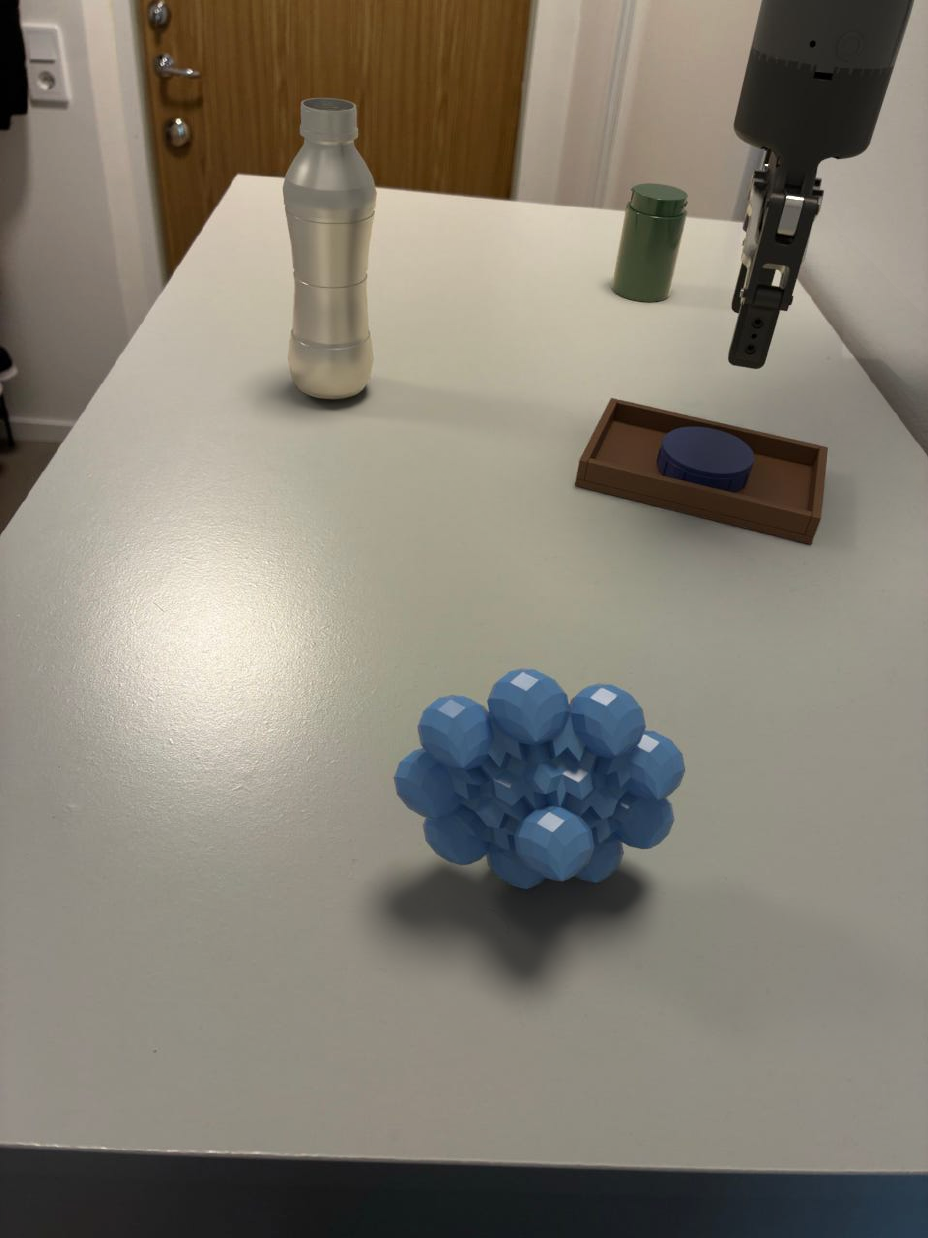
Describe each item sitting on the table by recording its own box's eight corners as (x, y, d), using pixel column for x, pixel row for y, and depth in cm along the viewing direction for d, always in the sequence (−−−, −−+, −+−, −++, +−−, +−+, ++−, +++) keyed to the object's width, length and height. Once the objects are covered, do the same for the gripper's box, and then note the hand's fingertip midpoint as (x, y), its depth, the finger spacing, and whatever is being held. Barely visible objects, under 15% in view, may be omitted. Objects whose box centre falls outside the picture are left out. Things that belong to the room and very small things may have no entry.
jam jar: (673, 286, 97) (695, 188, 91) (663, 306, 93) (686, 205, 87) (618, 275, 98) (636, 178, 92) (606, 294, 94) (623, 193, 88)
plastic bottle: (274, 399, 72) (258, 106, 59) (311, 364, 77) (304, 87, 64) (353, 417, 71) (355, 122, 58) (385, 380, 76) (393, 102, 63)
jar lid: (646, 479, 66) (651, 456, 65) (669, 439, 71) (675, 418, 70) (737, 505, 65) (744, 482, 63) (755, 463, 69) (762, 441, 68)
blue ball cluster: (392, 975, 37) (404, 773, 29) (387, 833, 42) (396, 629, 35) (679, 962, 39) (762, 766, 31) (640, 826, 44) (703, 629, 36)
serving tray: (818, 471, 70) (828, 446, 69) (811, 544, 63) (821, 518, 61) (606, 422, 74) (610, 397, 72) (574, 485, 66) (579, 459, 65)
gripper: (753, 20, 56) (692, 289, 67) (752, 61, 46) (679, 374, 56) (883, 35, 55) (801, 306, 66) (913, 80, 45) (809, 395, 55)
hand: (745, 337), depth 61 cm, fingers open, 8 cm apart
